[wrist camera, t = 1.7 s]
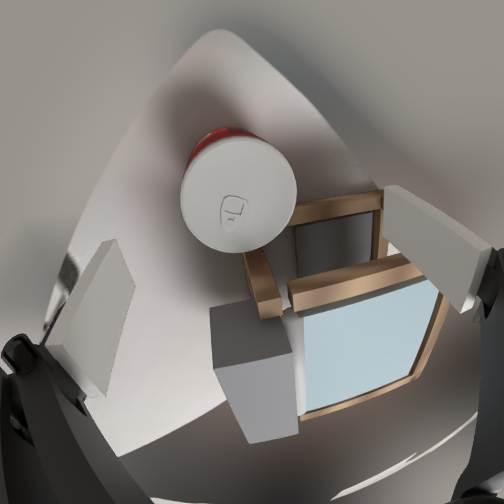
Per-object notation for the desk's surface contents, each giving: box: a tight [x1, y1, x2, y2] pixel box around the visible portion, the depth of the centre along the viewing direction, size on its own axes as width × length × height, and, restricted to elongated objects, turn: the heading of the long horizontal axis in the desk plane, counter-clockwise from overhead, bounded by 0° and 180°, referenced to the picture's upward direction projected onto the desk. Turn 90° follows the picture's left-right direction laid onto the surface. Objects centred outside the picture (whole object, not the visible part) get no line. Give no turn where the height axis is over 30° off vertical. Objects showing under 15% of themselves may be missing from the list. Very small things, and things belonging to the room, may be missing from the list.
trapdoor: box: [209, 275, 439, 444], centre depth 23 cm, size 19×15×6 cm
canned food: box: [180, 127, 297, 253], centre depth 22 cm, size 8×8×11 cm
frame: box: [242, 190, 450, 421], centre depth 29 cm, size 18×19×14 cm
